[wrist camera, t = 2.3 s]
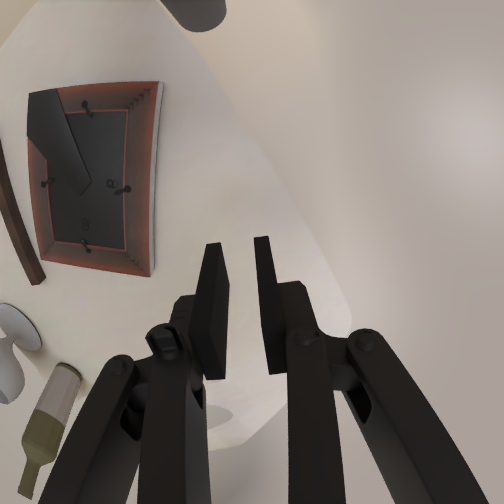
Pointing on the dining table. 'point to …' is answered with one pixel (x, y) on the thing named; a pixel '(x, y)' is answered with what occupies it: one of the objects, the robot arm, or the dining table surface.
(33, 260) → the walnut rail
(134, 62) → the dining table surface
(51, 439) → the bottle
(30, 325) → the chalice
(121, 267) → the picture frame
